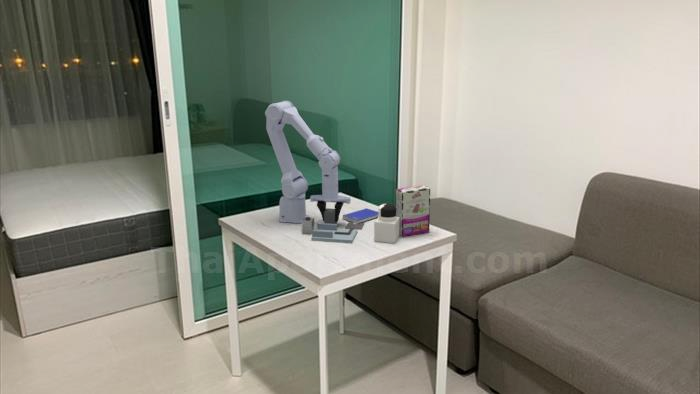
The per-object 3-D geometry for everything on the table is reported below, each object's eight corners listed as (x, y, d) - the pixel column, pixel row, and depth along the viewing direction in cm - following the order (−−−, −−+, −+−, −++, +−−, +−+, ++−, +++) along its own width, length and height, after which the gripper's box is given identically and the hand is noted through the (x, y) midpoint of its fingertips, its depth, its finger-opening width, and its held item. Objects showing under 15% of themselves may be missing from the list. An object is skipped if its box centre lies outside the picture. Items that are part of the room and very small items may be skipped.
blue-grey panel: (311, 240, 180) (311, 232, 179) (320, 227, 192) (320, 219, 191) (351, 243, 177) (351, 234, 176) (358, 229, 189) (358, 221, 188)
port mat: (345, 228, 190) (345, 227, 190) (348, 222, 196) (348, 222, 196) (361, 229, 189) (361, 228, 189) (364, 223, 195) (364, 223, 195)
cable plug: (302, 234, 186) (301, 218, 184) (305, 230, 189) (304, 215, 187) (311, 234, 185) (311, 219, 183) (314, 231, 188) (314, 216, 187)
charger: (324, 226, 193) (323, 211, 191) (326, 222, 197) (326, 208, 195) (334, 226, 192) (334, 212, 190) (337, 223, 196) (337, 208, 194)
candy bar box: (422, 228, 190) (423, 184, 185) (429, 232, 186) (431, 188, 181) (394, 232, 186) (395, 188, 181) (401, 237, 182) (402, 192, 177)
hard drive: (357, 219, 193) (381, 212, 202) (342, 214, 199) (365, 207, 207) (357, 223, 194) (381, 216, 202) (342, 218, 200) (365, 211, 208)
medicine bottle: (399, 236, 183) (400, 203, 179) (394, 243, 177) (395, 209, 173) (379, 233, 185) (380, 201, 182) (373, 241, 179) (374, 207, 175)
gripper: (307, 187, 187) (308, 223, 192) (347, 189, 185) (348, 225, 189) (312, 182, 194) (313, 216, 198) (351, 183, 191) (351, 219, 195)
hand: (330, 220), depth 194 cm, fingers closed on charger, 4 cm apart
